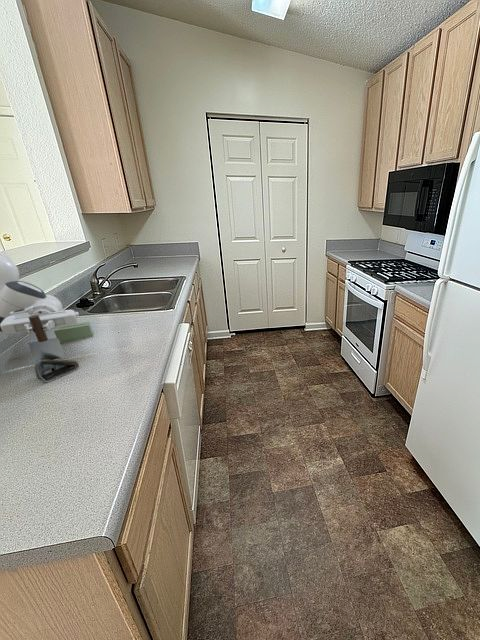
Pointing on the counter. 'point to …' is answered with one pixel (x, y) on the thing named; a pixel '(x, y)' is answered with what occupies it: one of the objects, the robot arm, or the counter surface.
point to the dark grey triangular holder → (54, 368)
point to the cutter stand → (74, 332)
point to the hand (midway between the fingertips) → (37, 329)
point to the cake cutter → (44, 343)
